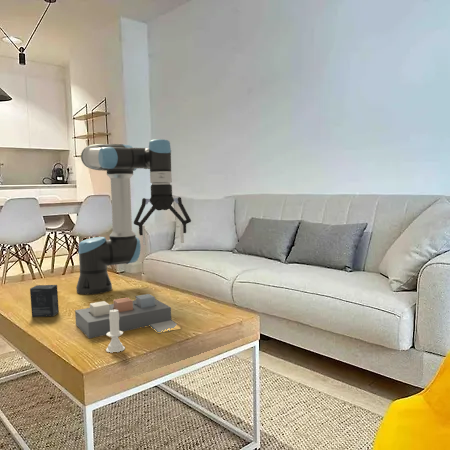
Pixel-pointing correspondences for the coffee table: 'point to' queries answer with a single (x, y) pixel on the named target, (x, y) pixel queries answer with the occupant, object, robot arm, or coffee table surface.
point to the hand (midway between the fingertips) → (163, 243)
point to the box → (44, 300)
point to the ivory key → (99, 308)
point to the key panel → (122, 319)
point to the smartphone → (163, 325)
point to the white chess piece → (114, 332)
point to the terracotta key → (123, 304)
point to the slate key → (145, 301)
